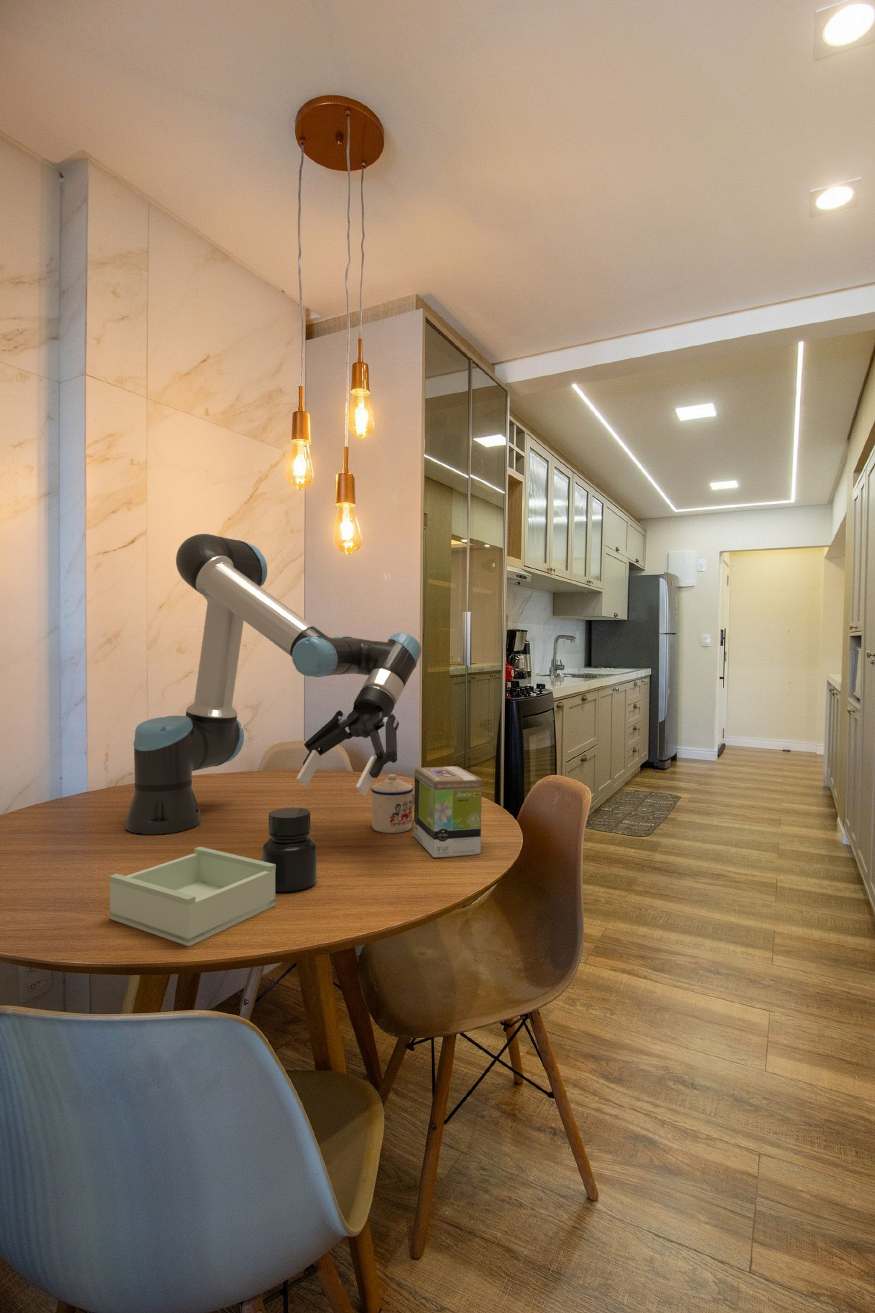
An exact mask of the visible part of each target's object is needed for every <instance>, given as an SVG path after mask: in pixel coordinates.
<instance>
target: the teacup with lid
mask: <svg viewBox="0 0 875 1313" xmlns="http://www.w3.org/2000/svg"><path fill="white" fill-rule="evenodd" d="M370 789H371V793H372V796H371V797H372V798H371V799H372V801H371V804H372V808H371V809H372V810H371V811H372V812H371V813H372V814H371V815H372V818H371V820H372V821H371V822H372V823H371V824H372V825H371V826H372V830H374V831H376V832H378V833H385V834H397V833H398V834H399V833H404V832H407V831H409V830H410V829H412V828H413V809H414V794H415V791H414V787H413V785H412V784H411V783H407V782H404V781H403V780H402V779H399V778H398V776H397V774H394V773H393V774H392V773H390V774H388V775H387V778H386V779H384V780H382V781H380V782H377V783H375V784H373V785H372V787H371V788H370Z"/></svg>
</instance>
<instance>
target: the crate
mask: <svg viewBox="0 0 875 1313" xmlns="http://www.w3.org/2000/svg"><path fill="white" fill-rule="evenodd" d="M193 850H194V851H193V853H191V854H189V855H185V856H182V857H179V858H176V859H173V860H171V861H170V860H169V861H167V862H165V863H161V864H158V865H155V866H152V867H149V868H146V869H143V870H140V871H137V872H133V873H131V874H127V875H123V874H120V873H114V874H112V875H109V876H108V877H109V878H108V880H109V918H110V919H109V920H112V921H115V922H119V923H121V924H124V925H127V926H129V927H133V928H135V929H139V930H141V931H143V932H147V933H150V934H151V935H155V936H158V937H162V938H164V939H167V940H169V941H172V942H175V943H178V944H181V945H183V946H186V947H191V946H193V945H196V944H197V943H199V942H201V941H203V940H205V939H208V938H210V937H213V936H215V935H216V934H218V933H220V932H222V931H224V930H226V929H228V928H230V927H233V926H235V925H237V924H239V923H241V922H243V921H245V920H247V919H250V918H252V917H254V916H255V915H258V914H260V913H263V912H264V911H266V910H269V909H271V908H272V907H275V906H276V892H275V870H276V864H272V863H268V862H263V861H262V860H259V859H254V858H250V857H246V856H242V855H237V854H232V853H229V852H225V851H219V850H216V849H212V848H207V847H204V846H197V847H195V848H194V849H193Z"/></svg>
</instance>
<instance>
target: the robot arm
mask: <svg viewBox="0 0 875 1313" xmlns="http://www.w3.org/2000/svg"><path fill="white" fill-rule="evenodd" d="M175 565H176V568H177V569H176V570H177V571H178V573H179V575H180V577H181V579H183V581H184V582H185V583H186V584H188V585H189V586H190V587H191V588H192V589H193V590H195V591H196V592H198V593H199V594H200V595H202V596H203V597H204V599H205V601H206V602H207V604H206V612H205V619H204V627H203V636H202V642H201V647H200V658H199V663H198V672H197V678H196V679H197V680H196V687H195V694H194V702H192V703H191V704H190V705H189V706H188V707H186V710H185V715H167V716H163V717H162V716H160V717H155V718H150V719H147V720H144V721H142V722H140V723H139V724H138V725H137V726H136V727H135V730H134V741H133V750H134V751H133V754H134V755H133V757H134V759H133V760H134V761H133V762H134V766H133V767H134V794H133V797H132V799H131V802H130V805H129V809H128V812H127V815H126V817H125V830H126V829H127V830H128V831H127V830H126V831H127V832H129V831H130V832H129V833H132V832H134V833H133V834H136V833H141V834H140V835H162V834H163V835H165V834H172V833H179V832H183V831H187V830H189V829H192V828H194V827H197V826H198V825H199V824H201V810H200V808H199V806H198V803H197V802H198V801H197V798H196V796H195V793H194V790H193V772H195V771H199V770H204V769H208V768H213V767H220V766H221V765H225V763H229V762H231V761H232V760H234V759H235V758H236V757H237V756H238V755H239V754H240V752H241V750H242V748H243V745H244V741H245V731H244V729H243V728H242V724H241V722H240V721H239V720H238V714H239V713H238V712H237V710H236V709H235V708H234V706H233V701H234V694H235V687H236V686H235V685H236V679H237V672H238V664H239V658H240V650H241V644H242V636H243V627H244V622H245V623H247V624H248V625H249V626H250V627H252V628H253V629H254V630H256V631H257V632H258V633H260V634H261V635H262V636H263V637H265V638H266V639H267V640H269V641H270V642H272V643H273V644H274V645H275V646H277V647H278V648H280V649H281V650H282V651H283V652H284V653H286V654H287V655H289V656H290V657H291V660H292V663H293V665H294V667H295V670H296V671H297V672H298V673H300V674H301V675H303V676H305V677H312V678H323V677H329V676H339V675H342V676H343V675H352V674H353V675H354V674H355V675H361V676H368V677H367V679H366V680H365V682H364V683H363V685H362V687H361V690H360V691H359V693H358V694H357V696H356V698H355V699H354V702H353V708H352V711H350V712H349V714H347V713H343V711H342V710H340V709H339V710H337V711H336V712H335V714H334V715H333V717H332V718H331V719H330V720H329V721H328V722H327V723H325V725H323V726H322V727H321V728H320V729H318V731H316V733H314V734H313V735H312V736H311V737H310V738H309V739H308V740H306V741H305V742H304V744H303V745H304V747H305V748H306V750H307V751H308V754H307V755H306V757H305V759H304V761H303V762H302V767H301V769H300V771H299V773H298V775H297V776H296V779H295V780H297V782H299V784H301V786H302V787H303V788H307V787H308V785H309V784H310V781H311V780H312V778H313V776H314V775H315V773H316V771H317V769H318V767H319V765H320V764H321V762H322V761H323V757H322V756H323V755H324V754H326V753H327V752H329V751H330V750H331V749H334V748H335V747H336V746H338V745H340V744H341V743H342V742H344V741H345V740H350V739H353V737H354V738H360V737H361V738H363V739H368V738H370V740H371V744H372V747H373V750H374V754H375V756H374V755H371V756H370V757H369V760H368V762H367V764H366V766H365V768H364V770H363V771H362V773H361V776H360V778H359V779H358V780H357V784H356V785H355V788H356V789H357V790H358V791H359V793H360V794H361V795H362V796H367V794H368V792H369V791H370V789H371V786H372V784H373V783H374V780H375V779H378V777H379V776H380V775H381V772H382V771H383V768H384V766H385V765H387V764H388V763H390V762H391V763H392V764H393V763H396V762H397V761H398V744H397V743H398V740H397V737H398V735H397V730H398V728H399V725H400V722H399V721H398V719H397V717H396V716H395V714H394V713H393V711H394V709H395V706H396V704H397V703H398V700H399V698H400V696H401V695H402V693H403V691H404V689H405V686H406V685H407V683H408V681H409V679H410V677H411V675H412V673H413V671H414V670H415V669H416V668H417V666H418V662H419V659H420V657H421V654H422V647H421V644H420V643H419V641H418V640H417V638H415V637H414V636H413V635H411V634H409V633H406V632H400V631H399V632H397V633H393V634H392V635H391V636H390V637H389V638H388V639H387V641H381V640H380V641H379V640H378V641H377V640H370V639H363V638H357V637H352V636H346V635H344V636H339V635H337V636H333V637H330V636H328V635H327V634H325V633H323V632H322V631H321V630H320V629H318V628H316V627H315V625H313V624H312V623H310V622H309V621H308V620H306V619H305V618H303V617H302V616H301V615H299V614H298V613H296V611H294V610H293V609H291V608H289V607H288V606H287V605H286V604H285V603H283V602H282V601H280V600H279V599H278V598H276V597H275V596H274V595H272V594H271V593H269V592H268V591H266V590H265V589H264V588H263V587H262V586H264V584H265V583H266V580H267V576H268V565H267V560H266V558H265V556H264V555H263V553H262V551H261V550H260V549H259V548H258V547H256V546H255V545H254V544H252V543H248V542H245V541H242V540H240V539H238V540H237V539H233V538H228V537H223V536H220V535H219V536H218V535H214V534H209V533H199V534H195V535H193V536H192V535H191V536H190V537H188V538H187V539H185V540H184V541H183V542H182V543H181V545H180V546H179V548H178V549H177V552H176V557H175ZM383 727H385V728H384V729H385V731H384V732H385V749H384V747H383V743H382V740H381V736H380V733H379V731H380V730H381V729H382V728H383ZM164 833H165V834H164Z"/></svg>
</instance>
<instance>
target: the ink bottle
mask: <svg viewBox="0 0 875 1313" xmlns="http://www.w3.org/2000/svg"><path fill="white" fill-rule="evenodd" d="M310 833H311V810H310V809H307V808H303V807H284V808H283V807H282V808H277V809H274V810H271V811H270V812H269V813H268V836H269V838H268V840H267V841H266V842H265V843H264V844H263V846H262V850H261V854H262V855H261V861H263V862H268V863H272V864H276V870H275V893H291V892H298V891H302V890H305V889H309V888H310V887H312V886H314V885H315V884H316V882H317V879H318V878H317V875H318V874H317V872H318V871H317V866H318V865H317V864H318V863H317V861H318V860H317V858H318V857H317V856H318V855H317V851H318V850H317V847H318V846H317V843H316V842H315V841H316V840H314V839H312V837H311V836H310Z"/></svg>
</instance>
